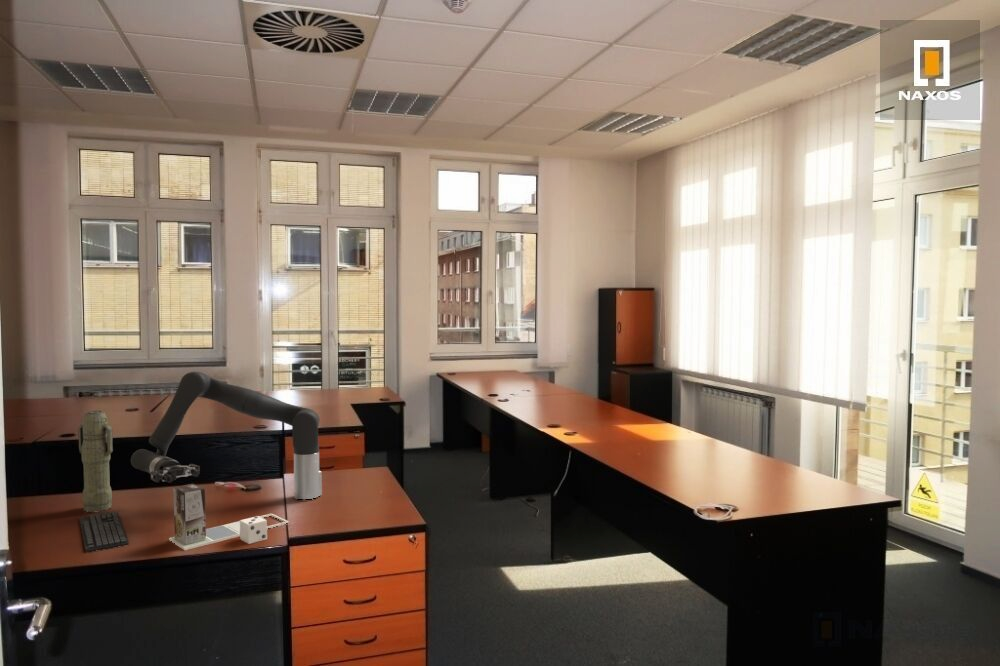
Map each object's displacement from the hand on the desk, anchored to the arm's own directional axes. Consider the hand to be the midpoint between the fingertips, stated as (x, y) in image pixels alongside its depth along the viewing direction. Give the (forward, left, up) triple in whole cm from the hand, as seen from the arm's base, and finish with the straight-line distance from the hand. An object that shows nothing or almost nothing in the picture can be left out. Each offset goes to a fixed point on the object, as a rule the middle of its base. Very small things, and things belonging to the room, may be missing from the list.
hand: (184, 476), depth 225 cm
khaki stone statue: (+14, -43, -18) cm, 49 cm away
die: (-11, +25, -17) cm, 33 cm away
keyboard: (+20, -15, -18) cm, 31 cm away
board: (-9, +14, -17) cm, 24 cm away
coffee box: (+4, +14, -17) cm, 22 cm away
